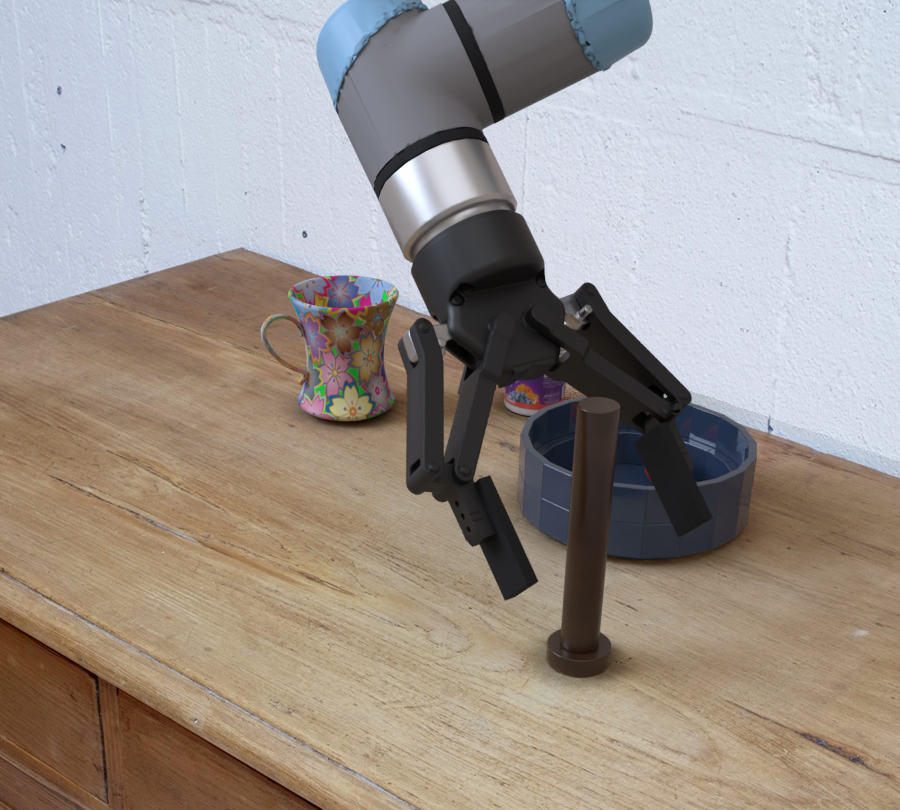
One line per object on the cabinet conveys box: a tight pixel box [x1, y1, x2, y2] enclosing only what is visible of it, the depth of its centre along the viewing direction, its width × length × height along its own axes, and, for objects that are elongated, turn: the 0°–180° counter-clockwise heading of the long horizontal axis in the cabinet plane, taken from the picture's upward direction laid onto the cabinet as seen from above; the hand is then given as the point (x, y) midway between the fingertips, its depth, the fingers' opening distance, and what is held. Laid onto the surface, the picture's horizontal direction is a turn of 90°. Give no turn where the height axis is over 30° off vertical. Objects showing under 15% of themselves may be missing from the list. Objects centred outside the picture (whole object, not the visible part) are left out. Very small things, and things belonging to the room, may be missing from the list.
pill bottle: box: [503, 296, 567, 417], centre depth 115 cm, size 5×5×10 cm
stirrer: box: [545, 397, 620, 678], centre depth 78 cm, size 4×4×17 cm
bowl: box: [516, 396, 758, 561], centre depth 98 cm, size 17×17×6 cm
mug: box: [260, 274, 400, 422], centre depth 113 cm, size 12×9×11 cm
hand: (612, 558), depth 76 cm, fingers open, 13 cm apart
